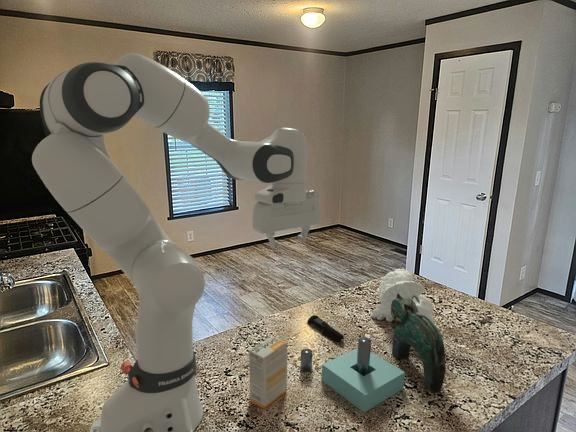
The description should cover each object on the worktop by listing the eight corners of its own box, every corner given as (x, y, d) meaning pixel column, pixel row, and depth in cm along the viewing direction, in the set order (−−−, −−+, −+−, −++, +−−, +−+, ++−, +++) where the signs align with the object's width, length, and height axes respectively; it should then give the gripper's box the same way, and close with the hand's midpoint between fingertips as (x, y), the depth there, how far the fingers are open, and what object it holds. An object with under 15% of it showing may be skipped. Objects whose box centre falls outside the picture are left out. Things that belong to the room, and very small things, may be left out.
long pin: (362, 390, 94) (365, 345, 91) (352, 383, 96) (355, 339, 93) (370, 385, 95) (373, 341, 93) (361, 379, 98) (364, 335, 95)
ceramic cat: (385, 350, 111) (390, 284, 106) (405, 348, 112) (411, 282, 108) (427, 396, 92) (435, 318, 88) (450, 392, 94) (460, 315, 89)
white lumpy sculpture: (458, 309, 117) (402, 272, 117) (417, 359, 120) (363, 323, 120) (440, 287, 135) (392, 256, 135) (405, 331, 139) (359, 300, 139)
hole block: (364, 412, 86) (365, 395, 85) (321, 380, 97) (322, 364, 96) (403, 388, 94) (404, 372, 93) (360, 361, 105) (361, 346, 104)
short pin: (305, 373, 100) (305, 356, 98) (298, 368, 102) (298, 350, 101) (314, 369, 101) (314, 352, 100) (306, 364, 104) (307, 347, 103)
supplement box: (272, 383, 96) (272, 334, 93) (287, 391, 93) (288, 342, 90) (248, 400, 89) (248, 349, 86) (263, 410, 86) (264, 357, 84)
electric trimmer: (336, 346, 113) (337, 336, 112) (306, 323, 126) (306, 314, 125) (346, 343, 115) (347, 333, 114) (315, 320, 128) (316, 311, 127)
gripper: (311, 188, 109) (310, 235, 112) (249, 194, 97) (249, 247, 100) (327, 191, 104) (325, 241, 107) (263, 198, 92) (263, 254, 95)
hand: (288, 244), depth 103 cm, fingers open, 8 cm apart
